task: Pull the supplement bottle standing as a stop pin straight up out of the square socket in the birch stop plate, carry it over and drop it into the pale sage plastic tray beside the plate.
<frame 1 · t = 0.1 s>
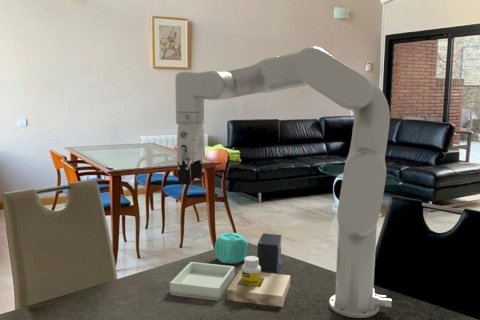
hand: (190, 180, 130), 31 cm above the table, tool pointing down, fingers open, 9 cm apart
decorative dice: (231, 260, 156), on the table
tray: (203, 285, 136), on the table
supplement bottle: (251, 292, 132), resting in stop plate
stop plate: (251, 291, 132), on the table
small box: (269, 271, 147), on the table
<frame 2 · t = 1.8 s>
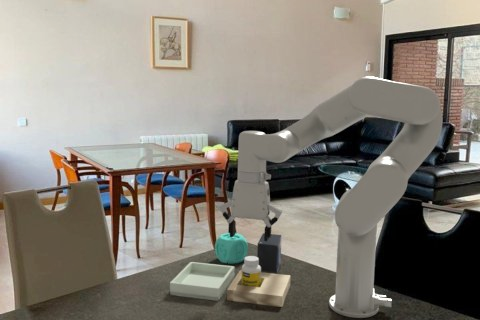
hand: (249, 237, 130), 16 cm above the table, tool pointing down, fingers open, 9 cm apart
nothing on the table moved.
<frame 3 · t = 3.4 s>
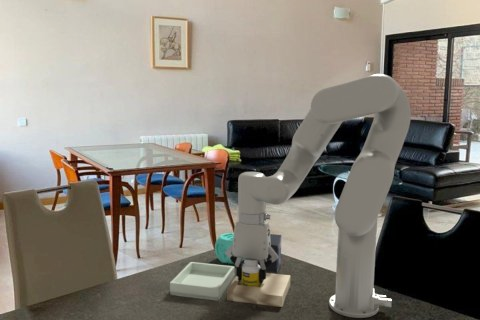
hand: (251, 279, 132), 4 cm above the table, tool pointing down, fingers closed on supplement bottle, 5 cm apart
supplement bottle: (251, 292, 132), resting in stop plate, touching gripper
everything else where it was.
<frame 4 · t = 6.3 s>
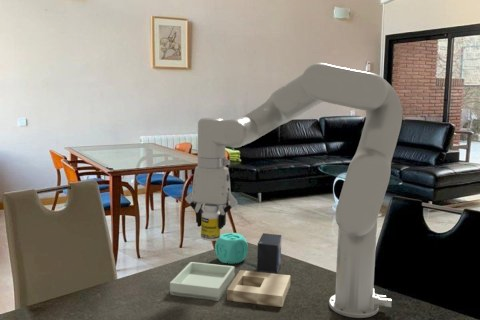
hand: (210, 225, 132), 18 cm above the table, tool pointing down, fingers closed on supplement bottle, 5 cm apart
supplement bottle: (210, 238, 133), point 14 cm above the table, touching gripper
everything else where it was.
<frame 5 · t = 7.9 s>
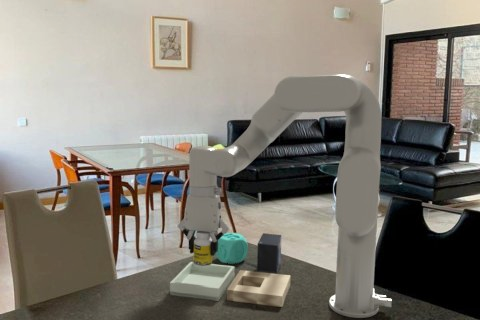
hand: (203, 252, 134), 10 cm above the table, tool pointing down, fingers closed on supplement bottle, 5 cm apart
supplement bottle: (202, 265, 135), point 6 cm above the table, touching gripper
everything else where it was.
when the fingers open (6 cm above the table, at t = 9.0 s): supplement bottle drops 2 cm, resting on tray.
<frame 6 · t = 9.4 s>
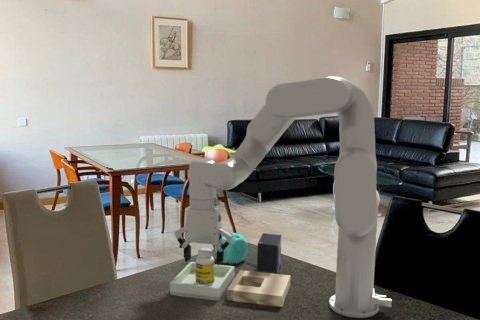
hand: (203, 261, 135), 7 cm above the table, tool pointing down, fingers open, 9 cm apart
supplement bottle: (205, 283, 136), point 1 cm above the table, touching tray
everything else where it was.
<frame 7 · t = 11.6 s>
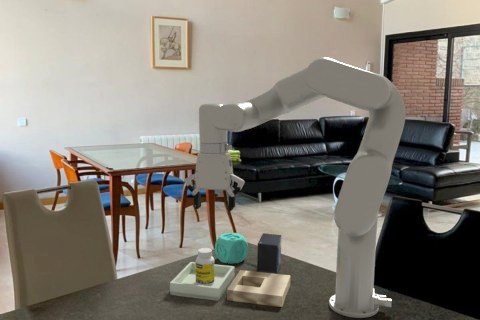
hand: (214, 208, 133), 23 cm above the table, tool pointing down, fingers open, 9 cm apart
nothing on the table moved.
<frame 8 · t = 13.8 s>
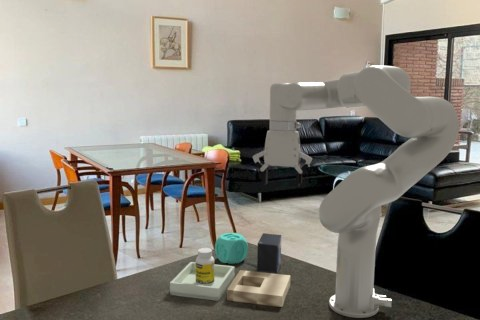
hand: (281, 185, 138), 28 cm above the table, tool pointing down, fingers open, 9 cm apart
nothing on the table moved.
at the end: supplement bottle inside the target area on the tray (0.4 cm from its centre), point 0.8 cm above the tray's base; the gripper is holding nothing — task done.
